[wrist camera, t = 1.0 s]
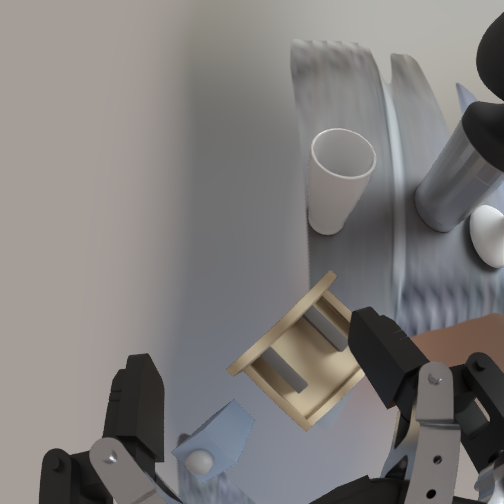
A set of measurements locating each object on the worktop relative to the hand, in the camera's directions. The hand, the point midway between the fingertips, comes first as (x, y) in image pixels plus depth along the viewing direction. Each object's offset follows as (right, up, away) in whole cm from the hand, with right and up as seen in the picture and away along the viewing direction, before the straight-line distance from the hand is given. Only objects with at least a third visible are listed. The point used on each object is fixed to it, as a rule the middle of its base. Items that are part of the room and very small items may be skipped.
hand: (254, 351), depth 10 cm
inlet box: (+8, -10, +22) cm, 25 cm away
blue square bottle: (-3, -18, +20) cm, 27 cm away
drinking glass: (+10, +8, +28) cm, 31 cm away
